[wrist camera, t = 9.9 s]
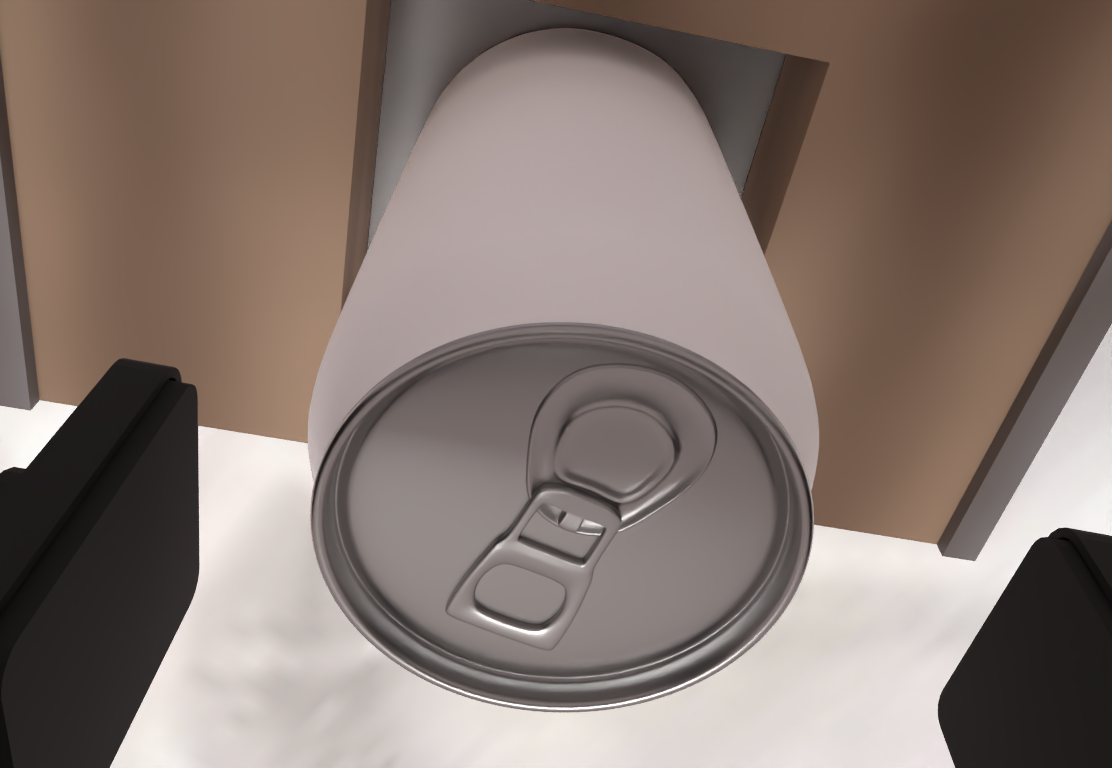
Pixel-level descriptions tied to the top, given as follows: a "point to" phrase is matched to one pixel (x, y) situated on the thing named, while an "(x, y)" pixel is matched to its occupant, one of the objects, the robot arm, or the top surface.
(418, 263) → the can
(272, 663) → the top surface
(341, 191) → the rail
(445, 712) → the top surface
